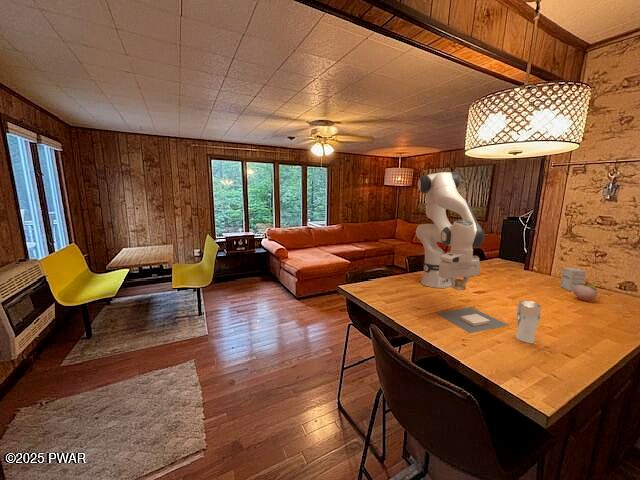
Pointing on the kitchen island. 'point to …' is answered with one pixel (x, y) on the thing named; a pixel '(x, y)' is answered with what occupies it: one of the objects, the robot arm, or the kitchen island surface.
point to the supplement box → (572, 278)
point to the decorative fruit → (585, 291)
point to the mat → (455, 318)
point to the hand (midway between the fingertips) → (458, 286)
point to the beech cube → (460, 284)
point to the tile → (475, 320)
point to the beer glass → (527, 321)
